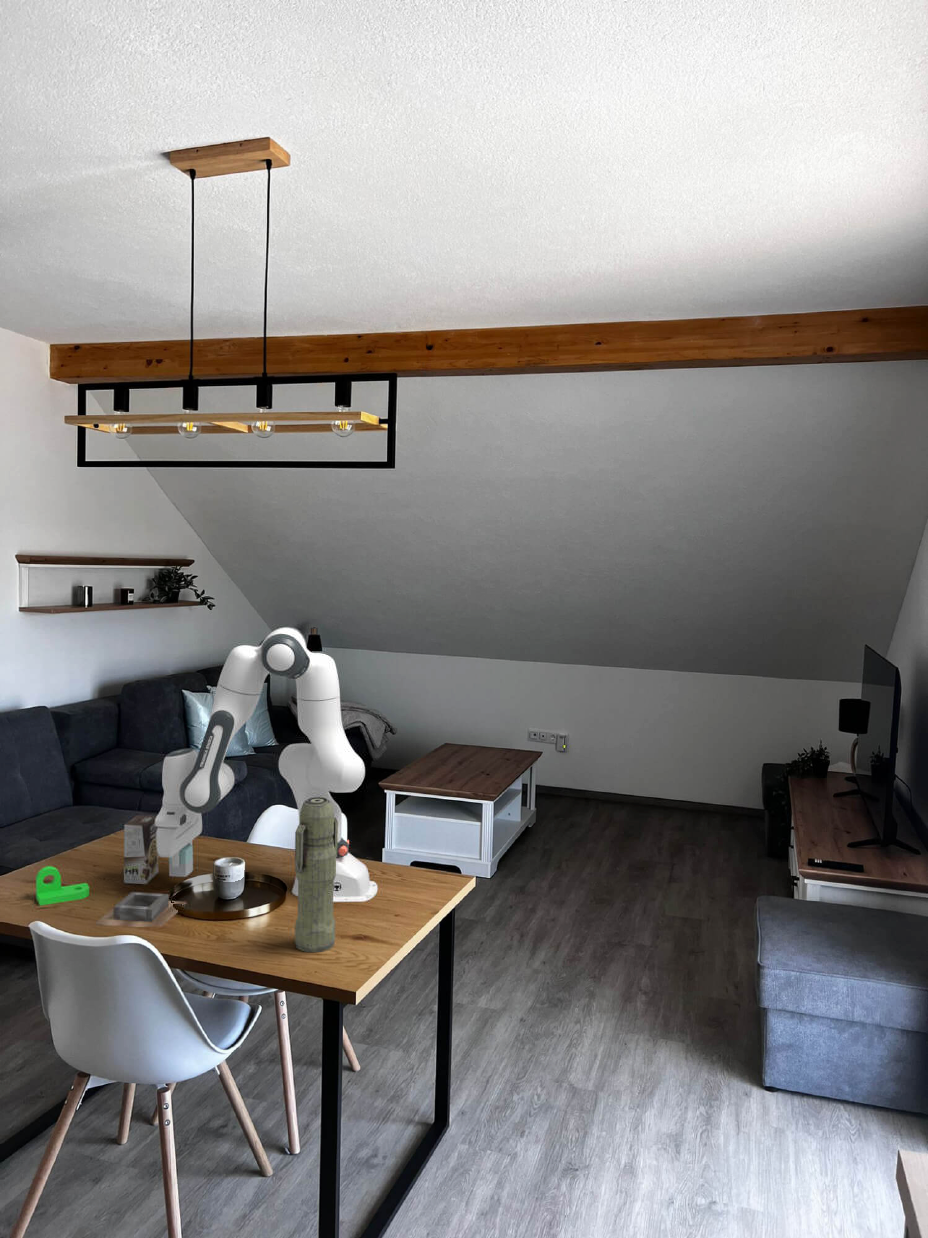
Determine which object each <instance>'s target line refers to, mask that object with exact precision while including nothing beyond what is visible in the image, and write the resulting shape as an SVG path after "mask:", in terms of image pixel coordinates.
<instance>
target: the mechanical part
mask: <svg viewBox="0 0 928 1238" xmlns="http://www.w3.org/2000/svg"><path fill="white" fill-rule="evenodd" d="M48 876H53V879H52V880H51V882H48V883H47V882H46V883H45V882H44V879H45V878H46V877H48ZM61 878H62V877H61V873H60V872H59V870H58V869H57V868H56V867H54V866H52V865H51V866H50V865H48V866H44V867H42V868H41V869H39V870H38V872H37V874H36V876H35V898H36V901H37V903H38V905H39V906H45V905H52V904H58V903H64V902H70V901H77V900H82V899H85V898H87V897H88V896H90V886H89V884H88V883H87V882H83V883H79V884H78V883H77V884H72V885H66V886H65V885H64V886H62V879H61Z"/></svg>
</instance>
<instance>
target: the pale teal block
mask: <svg viewBox="0 0 928 1238" xmlns="http://www.w3.org/2000/svg"><path fill="white" fill-rule="evenodd" d="M193 849H194V847H193V844H192V845H186V846H185V847H183V848H182V849H181V850H180V851H179V854H178V855H179V859H181V864H180V865H179V866H178V867H173V866H172V860H171V858H168V871H169V872H168V874H169V875H168V876H169V877H180V878H186V877H188V875H190V874H191V873H192V872H193V871H194V857H193V856H194V855H193V853H194V851H193Z"/></svg>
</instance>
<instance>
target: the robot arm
mask: <svg viewBox="0 0 928 1238" xmlns="http://www.w3.org/2000/svg"><path fill="white" fill-rule="evenodd" d="M307 647H308V644H307V640H306V637H305V635H304V634H303V633H302V632H301V630H299V629H298V628H296V627H294V626H290V625H284V626H283V625H282V626H280V627H277V628H275V629H274V630H273V629H272V631H271V632H270V633H269V634H268V635H267V636H266V637H264V638H263V639H262V641H260V643H259V644H258V646H253V645H247V644H245V645H239V646H236V647H234V648H232V649H231V651H230V652H229V654H228V656H227V658H226V660H225V663H224V664H223V667H222V670H221V673H220V676H219V679H218V682H217V684H216V685H217V686H216V690H215V695H214V697H213V702H212V708H211V712H210V716H209V718H208V719H209V720H208V722H207V723H208V724H207V728H206V729H205V732H204V737H203V739H202V742H201V744H200V748H199V751H198V752H197V751H196V750H195V749H194V748H182V749H177V750H173V751H171V752H170V753H168V754H167V755H166V756H165V757H164V759H163V764H162V779H161V782H162V788H163V797H162V806H161V808H160V811H159V812H158V814H157V815H156V816H157V817H156V819H155V826H157V827H158V828H157V833H156V841H157V853H158V857H160V858H168V859H169V858H171V860H172V866H173V867H178V866H179V865H180V864H181V859H179V855H178V854H179V851H180V850H181V849H182V848H183V847H185V846H186V845H193V840H194V839H196V837H198V836H200V834H201V833H202V831H203V820H202V819H203V818H202V814H206V813H210V812H211V811H212V810H214V808H215V807H216V806H217V805H218V804H219V802H221V800H222V799H223V798H224V797H226V795H227V794H229V792H230V791H231V790H232V789H233V788H234V785H235V781H236V778H235V777H236V776H235V773H234V770H233V769H232V768H231V766H230V765H228V764H227V763H225V762H224V760H225V757H226V755H227V750H228V748H229V745H230V744H231V741H232V740H233V738H234V736H235V735H236V734H237V733H238V731H239V730H241V728H242V727H243V726H244V725H245V724H246V723H247V721H249V719H251V717H252V715H254V712H255V710H256V707H257V705H258V703H259V700H260V698H261V693H262V690H263V686H264V683H265V681H266V678H267V676H268V675H269V674H270V673H271V674H272V675H276V676H280V677H283V678H288V679H291V680H295V685H296V703H297V704H296V705H297V708H296V709H297V724H298V727H299V729H300V730H301V732H302V733H303V734H305V736H307V738H308V740H309V741H310V743H307V742H306V743H305V742H301V743H292V744H289V745H287V746H286V747H285V748H284V749H283V750H282V752H281V754H280V756H279V759H278V770H279V774H280V775H281V776H282V777H283V778H284V780H286V782H287V784H288V785H289V787H290V789H291V791H292V793H293V796H294V799H295V803H296V806H297V811H298V824H299V823H300V811H301V808H302V805H303V802H304V801H305V800H307V799H309V798H312V797H323V798H327V799H328V800H330V801H331V803H332V807H333V810H334V817H335V818H336V819H337V821H338V840H337V857H336V876H335V879H334V884H333V903H355V902H357V903H359V902H360V903H362V902H367V901H369V900H371V899H373V898H374V897H375V896H376V895H377V893H378V890H379V889H378V885H377V883H376V882H375V881H373V880H370V875H369V870H368V867H367V865H366V864H364V862H362V861H360V860H359V859H357V858H356V857H355V856H354V855H352V854H351V853H350V852H349V848H350V847H349V845H350V840H349V839H347V841H346V840H345V839H344V838H343V837H342V816H343V815H342V809H341V808H340V806H339V804H338V803H337V802H336V801H335V800H334V799H333V797H332V796H331V793H337V794H338V793H353V792H355V791H357V790H358V788H359V787H360V786H361V785H362V783H363V781H364V779H365V776H366V766H365V763H364V761H363V759H362V758H361V757H360V756H359V754H358V753H356V752H355V750H354V749H353V747H352V746H351V744H350V742H349V739H348V738H347V736H346V732H345V730H344V727H343V723H342V722H343V721H342V710H341V709H342V708H341V691H340V690H341V689H340V681H339V675H338V674H339V673H338V669H337V664H336V663H335V660H334V658H332V657H331V656H330V655H327V654H326V653H321V652H320V653H319V652H315V653H314V652H311V651H310V650H309V649H308V648H307ZM330 792H331V793H330ZM291 893H292V894H293V895H294V896H296V897H298V880H297V877H296V876H295V880H294V883H293V887H292V890H291Z"/></svg>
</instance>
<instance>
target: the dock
mask: <svg viewBox="0 0 928 1238" xmlns="http://www.w3.org/2000/svg"><path fill="white" fill-rule="evenodd" d="M171 901H172V902H174V903H171ZM173 904H182V905H185V904H186V905H187V901H178V900H170V898H169V894H167V893H154V892H153V893H151V892H136V891H131V892H130V893H128V894H127V895H126V896H125V897H124V898H123V899H122V900H120V901H119V902H118V903H116V905H115V906H113V907H112V908H111V909H110V910H109V911H108V912H106V913H105V914H104V915H103V916H102V917H101V918H99V919H98V920H97V921H96V922H95V923H93V925H96V926H110V927H111V926H113V927H126V928H127V927H130V928H155V927H156V928H159V927H163V926H164V925H166V923H167V922H169V921H170V920H171V919H172V918H173V917H175V915H176V914H178V913H179V912H178V910H176V909H175V908H174V907H173Z"/></svg>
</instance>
